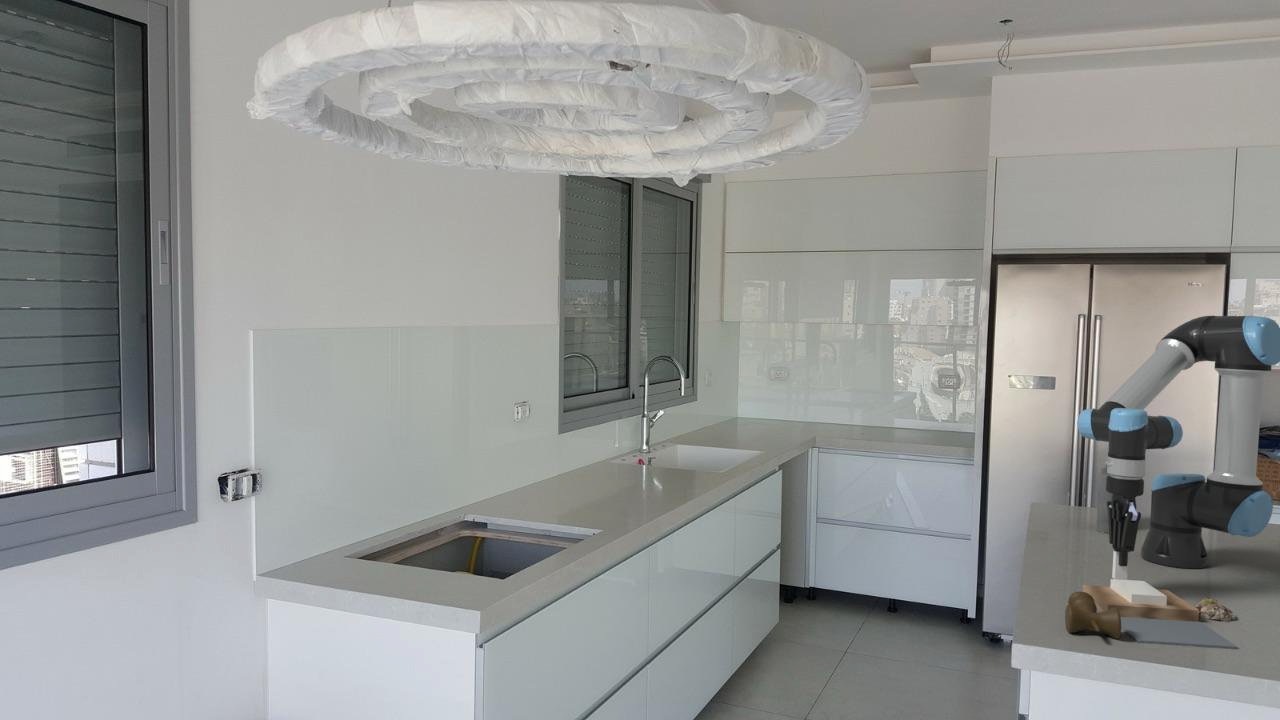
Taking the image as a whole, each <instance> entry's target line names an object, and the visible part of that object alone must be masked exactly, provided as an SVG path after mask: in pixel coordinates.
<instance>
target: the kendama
mask: <svg viewBox="0 0 1280 720" xmlns="http://www.w3.org/2000/svg"><path fill="white" fill-rule="evenodd" d="M1067 603H1068V604H1067V605H1066V607H1065V611H1064V622H1065V629H1066V632H1067V633H1068V634H1074V633H1076V632H1081V631H1085V630H1091V631H1092V630H1093V631H1096V632H1103V633H1104V634H1107V636H1110V637H1111V638H1113V639H1115V640H1119V639H1120V638H1121V635H1122V634H1121V632H1122V628H1121V617H1120V612H1119V610H1118V609H1117V608H1112V609H1109V610H1107V611H1105V612H1101V611H1100V612H1098V608H1097V607H1096V604H1095V602H1094V599H1093V597H1092V596H1091V595H1090V594H1088V593H1086V592H1083V591H1075V592H1073V593H1071V594H1070V596H1069V597H1068V601H1067Z"/></svg>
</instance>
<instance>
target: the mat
mask: <svg viewBox="0 0 1280 720" xmlns="http://www.w3.org/2000/svg"><path fill="white" fill-rule="evenodd" d="M1121 630H1122V631H1124V632H1125V633H1126V632H1127V633H1126V634H1127V635H1129V636H1130V637H1131V638H1132V637H1133V638H1132V639H1134V641H1135V642H1137V643H1141V642H1147V644H1156V643H1162V644H1161V645H1171V644H1176V645H1175V646H1186V645H1191V646H1190V647H1201V646H1204V647H1205V648H1215V647H1217V649H1218V648H1219V649H1230V648H1231V649H1232V650H1237V649H1238V646H1237V645H1236V644H1234V643H1232V642H1231V641H1230V640H1228V639H1227V638H1225V637H1224V636H1222V635H1221V634H1219V633H1218V632H1216V631H1215V630H1214V629H1212V628H1211V627H1209V626H1207V625H1206V624H1204V623H1203V622H1201V621H1198V622H1192V621H1177V620H1161V619H1146V618H1130V617H1121ZM1231 649H1230V650H1231Z"/></svg>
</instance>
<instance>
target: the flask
mask: <svg viewBox="0 0 1280 720" xmlns="http://www.w3.org/2000/svg"><path fill="white" fill-rule="evenodd" d="M1108 475H1110V474H1108V473H1107V465H1106V464H1105V467H1103V468H1101V470H1100V473H1099V479H1098V499H1097V513H1096V514H1097V515H1096V516H1097V517H1096V531H1097V532H1098V531H1099V532H1098V533H1100V532H1104V533H1103V534H1105V533H1109V520H1108V508H1107V501H1112V496H1113V494H1111V493H1109V492H1107V491H1106V477H1108Z"/></svg>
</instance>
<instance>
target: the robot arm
mask: <svg viewBox="0 0 1280 720" xmlns="http://www.w3.org/2000/svg"><path fill="white" fill-rule="evenodd" d="M1201 362H1214V370H1215V371H1216V372H1217V373H1218V374H1219V376H1220V387H1219V401H1218V416H1217V429H1216V430H1217V431H1216V445H1215V457H1214V468H1213V469H1214V470H1213V471H1212V472H1211V473H1210V474H1208V475H1207V476H1206V477H1205V476H1204V475H1203V474H1200V473H1163V474H1162V473H1161V474H1158V475H1155V476H1154V478H1153V479H1152V486H1151V497H1150V499H1151V501H1150V503H1151V504H1150V520H1149V521H1150V524H1149V529H1148V530H1149V531H1148V532H1147V535H1146V537H1145V539H1144V541H1143V544H1142V545H1141V549H1140V557H1141V558H1142V559H1143V560H1146V561H1148V562H1151V563H1154V564H1158V565H1163V566H1167V567H1172V568H1181V569H1204V568H1207V567H1208V566H1209V565H1208V564H1209V556H1208V555H1209V554H1208V552H1207V549H1206V546H1205V542H1204V540H1203V535H1202V533H1203V531H1202V529H1203V528H1204V529H1209V530H1213V531H1217V532H1221V533H1224V534H1225V533H1226V534H1229V535H1231V536H1239V537H1240V536H1241V537H1245V538H1251V537H1255V536H1258V535H1259V534H1261V533H1262V532H1263V531H1264V530H1265V528H1266V527H1268V524H1269V522H1270V521H1271V518H1272V514H1273V511H1274V503H1273V500H1272V496H1271V495H1270V494H1269V493H1267V492H1266V491H1263V487H1264V482H1263V481H1261V480H1260V478H1258V477H1257V466H1258V464H1257V463H1258V451H1259V438H1260V437H1259V436H1260V424H1261V423H1260V422H1261V410H1262V409H1261V408H1262V397H1263V384H1264V382H1263V381H1264V378H1265V377H1266V376H1268V375H1269V374H1271V373H1272V366H1275V365H1277V364H1279V363H1280V325H1279V324H1278V323H1277V322H1276V321H1275V320H1274V319H1272V318H1270V317H1268V316H1256V315H1204V316H1200V317H1196V318H1192V319H1190V320H1188V321H1186V322H1184V323H1182V324H1180V325H1178V326H1177V327H1175V328H1174V329H1172V330H1170V332H1168V333H1167V334H1166V335H1164V336H1163V337H1162V338H1161V339H1160V340H1159V341H1158V342H1157V343H1156V345H1155V350H1154V352H1153V353H1152V355H1150V356H1149V358H1147V359H1146V360H1145V361H1144V362H1143V364H1142V365H1141V366H1140V367H1138V368H1137V370H1136V371H1134V373H1133V374H1132V375H1131V376H1130V377H1129V378H1127V379H1126V381H1124V383H1122V385H1121V386H1120V387H1119V388H1117V390H1116V391H1115V392H1114V393H1113V394H1112V395H1111V396H1110V397H1108V399H1107V400H1105V402H1104V403H1103V404H1102V405H1100V407H1099V408H1098V409H1097V408H1087V409H1086V408H1085V409H1084V410H1082V411H1081V412H1080V413H1079V415H1078V417H1077V421H1076V424H1077V425H1076V426H1077V430H1078V432H1079V434H1080V436H1082V437H1083V438H1085V439H1087V440H1088V439H1089V440H1094V441H1096V442H1106V443H1108V451H1107V461H1105V466H1106V465H1107V473H1108V474H1110V475H1108V477H1106V491H1107V492H1109V493H1111V494H1113V496H1112V501H1107V508H1108V520H1109V534H1108V535H1109V536H1108V537H1109V538H1108V539H1109V540H1108V542H1109V544H1110V545H1112V546H1111V547H1112V549H1113V552H1112V553H1113V554H1112V555H1113V557H1112V570H1111V571H1112V573H1111V574H1112V575H1111V579H1118V580H1128V573H1129V572H1128V571H1129V559H1130V558H1129V556H1130V555H1129V554H1130V552H1134V551H1135V547H1136V546H1135V545H1136V540H1137V534H1138V529H1139V524H1140V523H1139V522H1140V521H1141V518H1142V513H1141V512H1140V511H1137V501H1136V497H1141V496H1143V495H1144V492H1145V491H1144V488H1145V480H1144V479H1143V477H1145V475H1146V460H1147V459H1146V451H1147V450H1166V449H1169V448H1174V447H1175V446H1176V447H1177V446H1178V445H1179V444H1180V442H1181V441H1182V438H1183V434H1184V431H1183V427H1182V425H1181V424H1180V422H1179V421H1178V420H1177V419H1176V418H1174V417H1172V416H1168V415H1167V416H1166V415H1157V416H1155V415H1148V412H1147V411H1146V410H1145V409H1147V407H1148V406H1149V405H1150V404H1151V403H1152V401H1154V399H1155V398H1157V396H1159V395H1160V394H1161V392H1162V391H1163V390H1164V389H1165V388H1166V387H1167V386H1168V385H1169V384H1170V383H1172V381H1173V380H1174V379H1175V378H1176V377H1178V375H1179V374H1180V373H1181V372H1182V371H1186V370H1189V369H1190V368H1191V367H1193V366H1194V364H1197V363H1201Z"/></svg>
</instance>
